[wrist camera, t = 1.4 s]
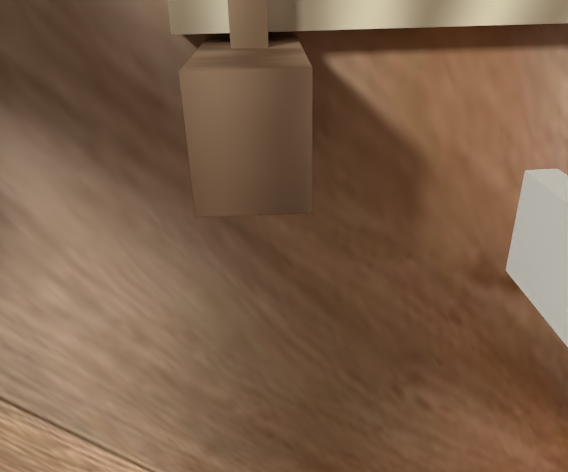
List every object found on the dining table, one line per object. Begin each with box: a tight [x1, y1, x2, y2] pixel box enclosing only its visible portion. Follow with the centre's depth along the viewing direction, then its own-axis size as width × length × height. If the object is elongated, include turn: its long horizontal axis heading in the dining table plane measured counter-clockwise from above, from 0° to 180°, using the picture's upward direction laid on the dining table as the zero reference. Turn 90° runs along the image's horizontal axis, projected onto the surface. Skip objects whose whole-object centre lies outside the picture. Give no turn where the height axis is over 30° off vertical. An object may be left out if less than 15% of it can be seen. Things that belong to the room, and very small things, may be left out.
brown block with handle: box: [178, 0, 313, 217], centre depth 23 cm, size 5×13×10 cm, turn 1°
